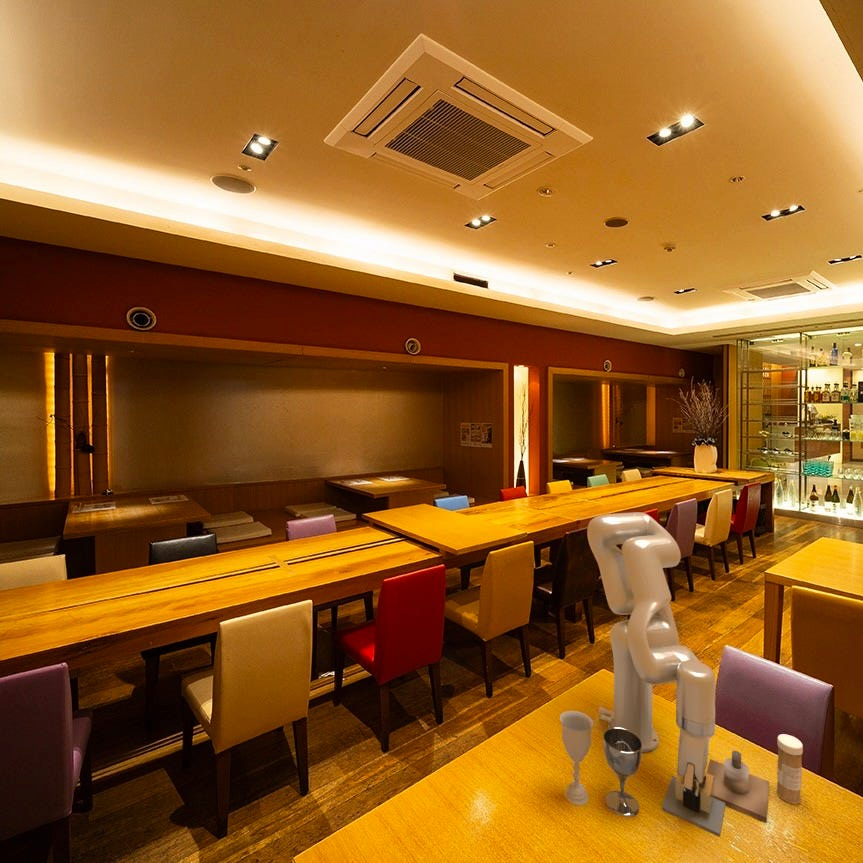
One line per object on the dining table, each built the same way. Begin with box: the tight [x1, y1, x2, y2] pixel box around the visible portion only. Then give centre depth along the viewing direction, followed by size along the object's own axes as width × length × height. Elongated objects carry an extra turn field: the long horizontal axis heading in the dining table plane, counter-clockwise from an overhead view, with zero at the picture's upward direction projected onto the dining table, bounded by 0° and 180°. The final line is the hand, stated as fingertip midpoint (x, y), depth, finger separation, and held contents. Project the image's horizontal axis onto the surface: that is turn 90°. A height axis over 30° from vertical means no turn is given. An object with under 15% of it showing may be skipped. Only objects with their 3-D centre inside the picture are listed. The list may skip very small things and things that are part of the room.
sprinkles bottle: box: [776, 733, 804, 805], centre depth 107 cm, size 5×5×14 cm
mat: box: [661, 775, 726, 837], centre depth 106 cm, size 11×11×1 cm
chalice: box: [559, 710, 594, 806], centre depth 108 cm, size 7×7×18 cm
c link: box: [675, 772, 714, 813], centre depth 106 cm, size 7×7×4 cm
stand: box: [706, 750, 770, 824], centre depth 109 cm, size 12×12×9 cm
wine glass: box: [602, 728, 643, 818], centre depth 106 cm, size 8×8×15 cm
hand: (694, 797), depth 106 cm, fingers closed on c link, 6 cm apart
